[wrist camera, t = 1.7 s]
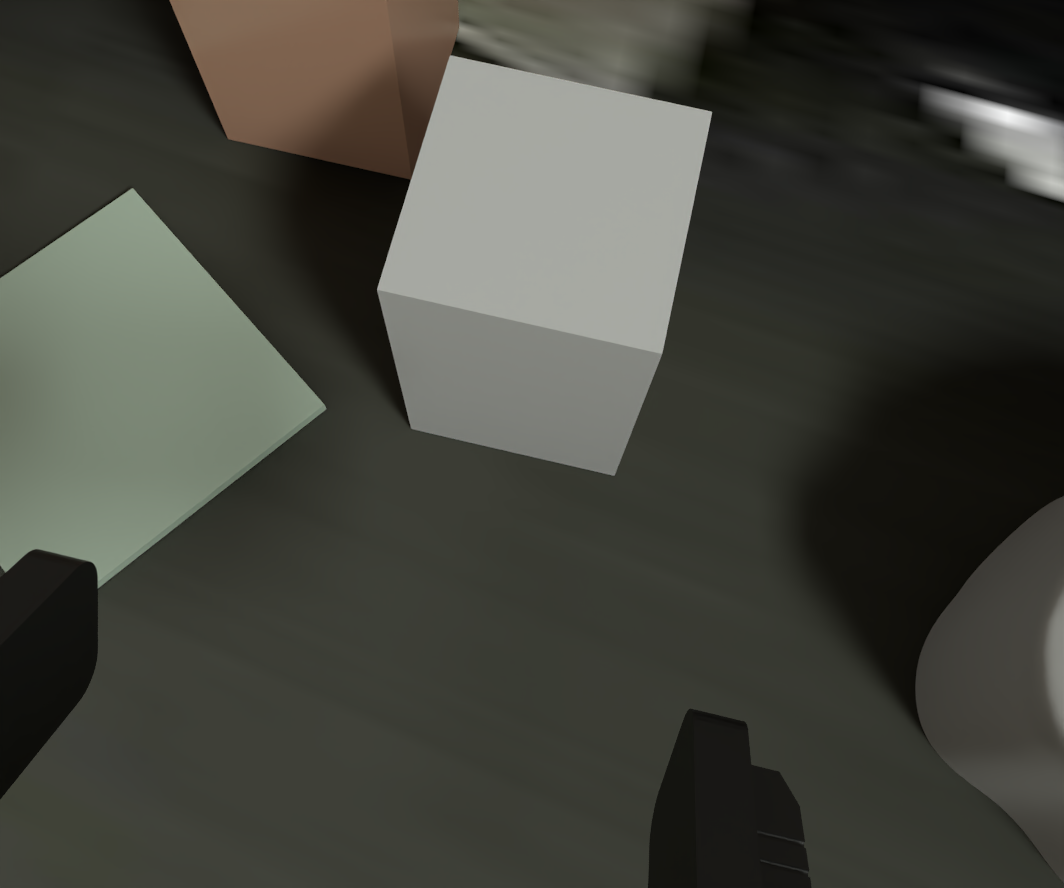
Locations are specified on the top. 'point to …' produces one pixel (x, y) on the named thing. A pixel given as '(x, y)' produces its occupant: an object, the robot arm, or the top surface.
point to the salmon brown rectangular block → (324, 74)
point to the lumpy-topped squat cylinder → (1005, 680)
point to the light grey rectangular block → (539, 261)
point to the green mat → (127, 391)
